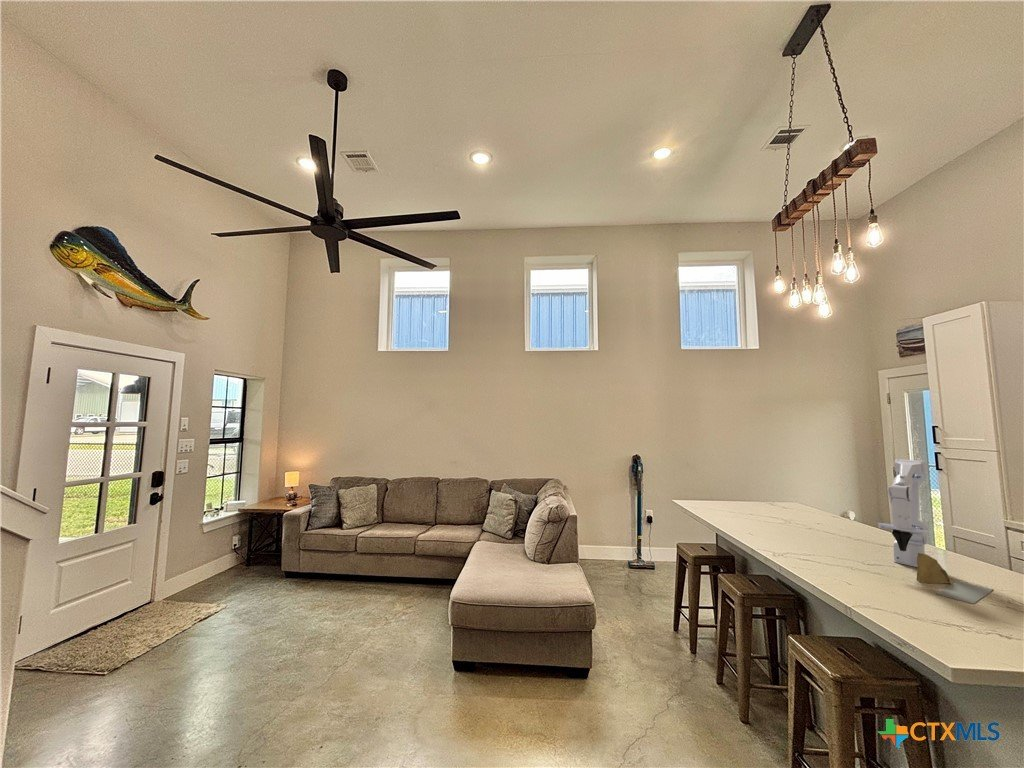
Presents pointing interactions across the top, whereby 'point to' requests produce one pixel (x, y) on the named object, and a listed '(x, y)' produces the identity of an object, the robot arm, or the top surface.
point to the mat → (965, 592)
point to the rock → (930, 570)
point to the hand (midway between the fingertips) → (903, 550)
